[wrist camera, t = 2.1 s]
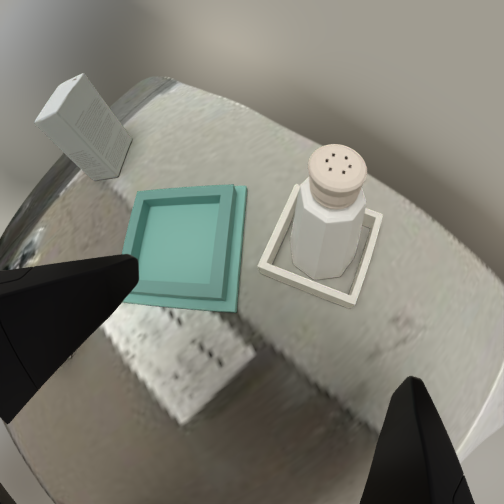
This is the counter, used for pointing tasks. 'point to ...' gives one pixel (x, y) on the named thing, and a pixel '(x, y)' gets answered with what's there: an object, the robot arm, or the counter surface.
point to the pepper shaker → (329, 212)
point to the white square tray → (317, 289)
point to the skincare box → (85, 128)
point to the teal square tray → (187, 247)
